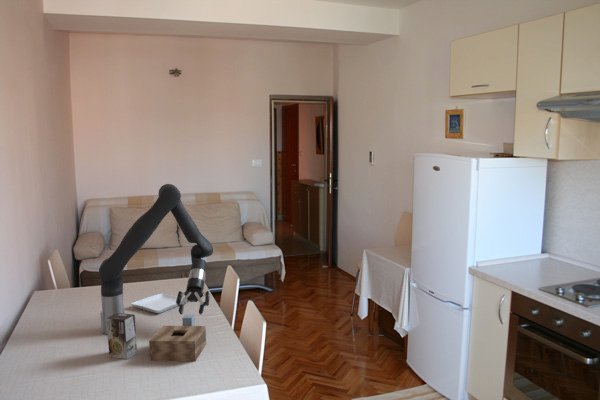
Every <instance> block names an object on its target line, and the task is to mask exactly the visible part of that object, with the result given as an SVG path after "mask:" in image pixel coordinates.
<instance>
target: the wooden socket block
mask: <svg viewBox="0 0 600 400" xmlns="http://www.w3.org/2000/svg"><path fill="white" fill-rule="evenodd" d="M206 333H207V332H206V325H195V326H183V325H162V326H161V328H159V330H158V331H157V332H156V333H155V334H154V335H153V336H152V337H151V338H150V339H149V341H148V345H149V361H150V362H151V361H154V362H155V361H157V362H164V361H165V362H196V361H197V360H198V358H199V356H200V355H201V354H202V352H203V350H204V348H205V347H206V346H207V334H206Z"/></svg>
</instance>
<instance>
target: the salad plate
mask: <svg viewBox="0 0 600 400" xmlns="http://www.w3.org/2000/svg"><path fill="white" fill-rule="evenodd" d="M177 296H178V295H171V294H167V293H162V292H161V293H158V294H154V295H151V296H148V297H145V298H142V299H139V300H137V301H133V302H131V303H130V305H131V306H132V307H135V308H137V309H140V310H142V309H143V311H146V310H147V311H146V312H151V313H156V314H161V313H164V312H166V311H169V310H172V309H175V308H177V307H179V306H178V305H177V303H176V300H177ZM183 298H184V297H182V299H181V301H182V300H183Z"/></svg>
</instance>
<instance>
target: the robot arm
mask: <svg viewBox="0 0 600 400" xmlns="http://www.w3.org/2000/svg"><path fill="white" fill-rule="evenodd" d="M181 197H182V194H181V191H180V190H179V189H178V187H176V185H174V184H170V183H165V184H163V185H161V187H160V188H159V189H158V197H157V199H156V200H155V201H154V204H152V205H151V207H149V209H148V210H147V211H146V212H145V213H143V214H142V215H141V216H140V217H138V218H137V220H135V221H134V222H133V224H132V225H131V227H130V228H129V229H128V230H127V232H126V233H125V235H124V236H123V238H122V239H121V242H120V243H119V245H118V247H117V248H116V250H114V252H113V253H112V254H111V255H110V256H109V257H107V258H106V259H104V260H103V261H102V262H101V264H100V265H99V267H98V275H99V277H100V295H101V296H100V297H101V311H100V313H99V315H100V326H101V334H105V335H108V332H107V320H106V318H108V317H110V316H112V315H113V314H116V313H123V314H125V304H124V280H123V279H124V277H123V276H124V275H123V271H124V269H125V267H126V265H128V263H129V262H130V260H131V259H132V258H133V257H134V255H136V254H137V253H138V252H139V250H140V249H141V248H142V247H143V246H144V245H145V243H146V242H147V241H148V240H149V239H150V237H151V236H152V235H153V233H154V232H155V231H156V230H157V229H158V226H160V224H161V223H162V221H163V220H164V218H165V217H166V216H167V215H168V214H169V213H171V214H172V215H173V218H174V219H175V221H176V223H177V225H178V226H179V229H180V230H181V232H182V234H183V235H184V237H185V239H186V241H187V242H188V243H189V244H194V245H193V246H192V247H191V249H190V258H191V266H190V270H189V271H190V272H189V275H188V279H187V285H186V289H185V291H183V292H182V291H180V290H179V291H178V292H177V295H176V296H177V300H176V303H177V305H178V306H177V307H178V313H179V314H180V315H183V314H184V313H183V312H184V306H186V305H187V304H188V303H197V302H198V303H199V304H200V305H199V309H198V313H199V315H202V314H203V313H204V309H205V307H206V306H207V307H208V306H209V305H210V292H209V291H208V290H207V291H204V288H205V282H206V273H207V266H208V262H207V261H206V260H205V259H203V258H207V257H210V256H212V255H213V254H214V246H213V244H212V243H211V242H210V241H209V240H208V239H207V237H205V236H204V235H203V234H202V233H201V231H200V230H199V228H198V227H197V224H196V222H195V221H194V220H193V219H192V217H191V215H190V214H189V213H188V211H187V209H186V208H185V206H184V204H183V202H182V200H181ZM203 297H205V298H204V301H203V300H202V298H203ZM182 298H183V300H182V301H181V299H182Z"/></svg>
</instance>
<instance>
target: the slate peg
mask: <svg viewBox="0 0 600 400" xmlns="http://www.w3.org/2000/svg"><path fill="white" fill-rule="evenodd" d="M181 319H182V326H196V324H195V322H196V321H195V314H184V315H183V316H182V318H181Z"/></svg>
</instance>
